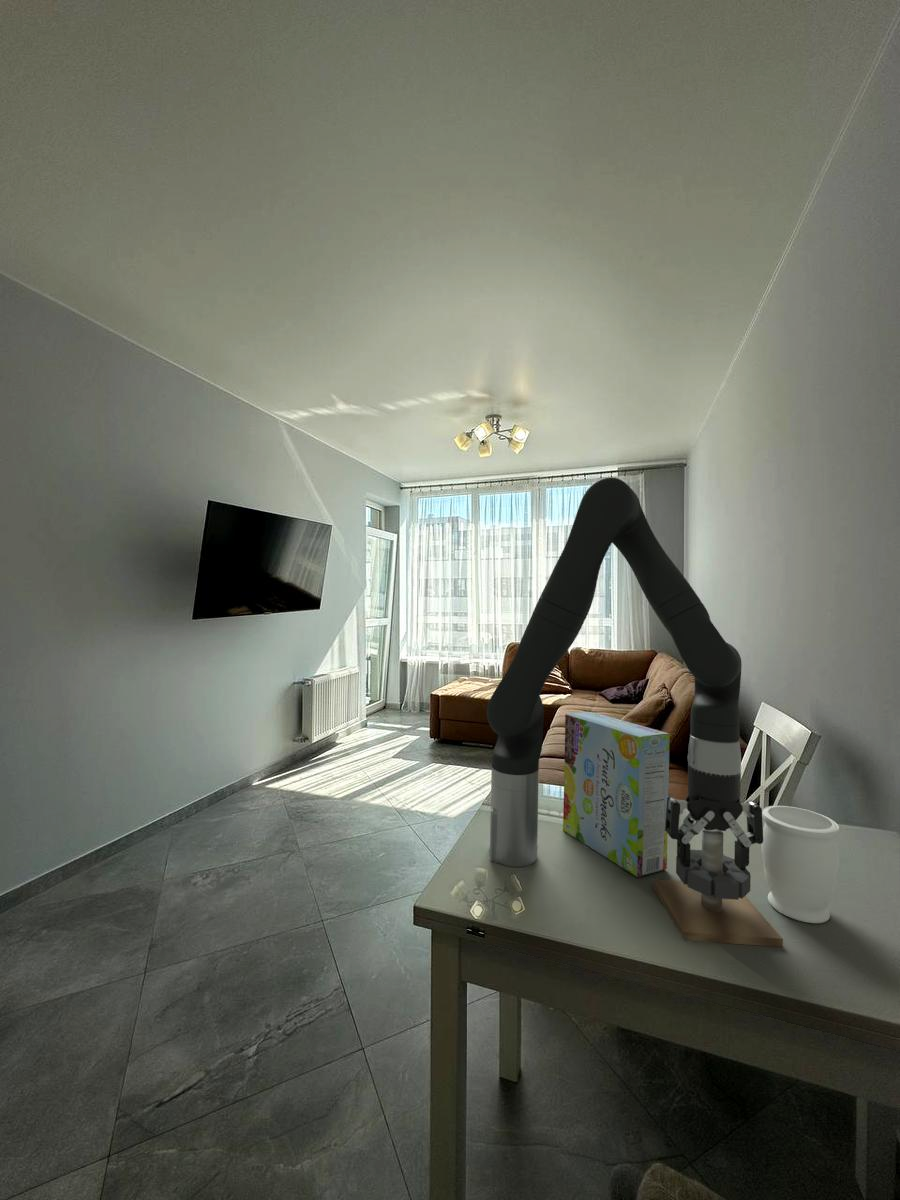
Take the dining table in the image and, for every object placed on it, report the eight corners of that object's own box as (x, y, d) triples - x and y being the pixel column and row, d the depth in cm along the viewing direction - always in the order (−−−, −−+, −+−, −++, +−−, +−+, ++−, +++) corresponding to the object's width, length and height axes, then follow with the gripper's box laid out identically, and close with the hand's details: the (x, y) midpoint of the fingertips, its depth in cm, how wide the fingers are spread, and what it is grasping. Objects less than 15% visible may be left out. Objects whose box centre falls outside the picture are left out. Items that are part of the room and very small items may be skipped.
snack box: (671, 870, 93) (673, 732, 93) (637, 881, 89) (639, 737, 89) (590, 822, 112) (592, 709, 112) (560, 829, 108) (562, 712, 108)
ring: (692, 896, 75) (692, 881, 75) (668, 862, 85) (669, 848, 85) (761, 901, 74) (761, 885, 74) (729, 865, 84) (729, 851, 84)
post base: (683, 940, 73) (685, 850, 73) (652, 886, 87) (653, 811, 87) (782, 947, 72) (784, 856, 72) (735, 891, 86) (736, 815, 86)
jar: (811, 936, 75) (812, 836, 75) (746, 898, 84) (747, 809, 84) (852, 919, 79) (854, 825, 79) (786, 884, 88) (787, 800, 88)
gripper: (677, 771, 77) (675, 875, 77) (773, 775, 75) (772, 881, 75) (660, 756, 84) (659, 851, 84) (747, 759, 83) (746, 856, 83)
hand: (712, 865), depth 80 cm, fingers open, 8 cm apart
